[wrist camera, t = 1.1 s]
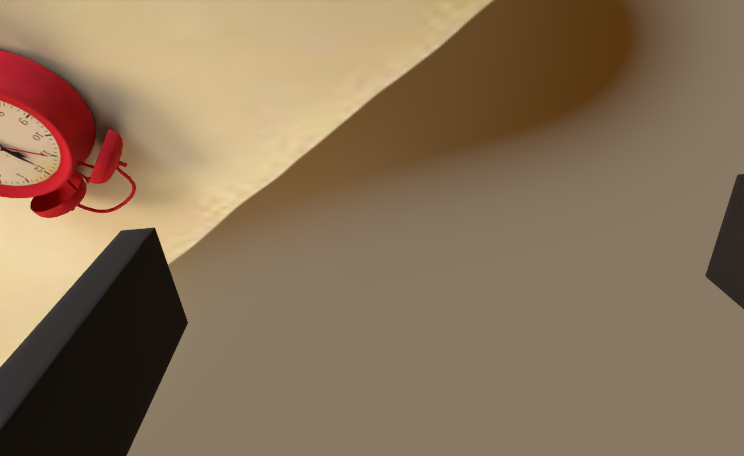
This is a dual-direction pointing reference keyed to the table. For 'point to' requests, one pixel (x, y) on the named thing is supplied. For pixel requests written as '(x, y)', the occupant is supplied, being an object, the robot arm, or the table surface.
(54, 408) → the robot arm
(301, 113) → the table surface
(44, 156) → the alarm clock
